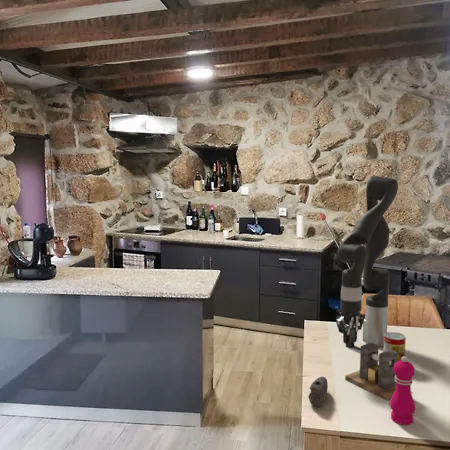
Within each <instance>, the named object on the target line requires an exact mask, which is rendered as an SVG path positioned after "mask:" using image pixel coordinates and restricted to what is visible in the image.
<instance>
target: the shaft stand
mask: <svg viewBox="0 0 450 450" xmlns="http://www.w3.org/2000/svg"><path fill="white" fill-rule="evenodd" d="M379 347H380V346H379V345H377V344H375V343H368V344H366V343H365V344H362V345H360V348H361V350H360V353H359V354H360V355H359V357H360V359H359V370H357V371H354V372H352V373H348V374H347V375H344V376H345V379H344V380H345V381H347V382H349V383H351V384H353V385H355V386H356V387H359V388H362V389H363V390H366V391H368V392H370V393H372V394H373V395H374V396H375V395H376V396H378V397H379V398H381V399H384V400H386V401H390V400H391V397H392V396H393V394H394V392H395V389H396V381H395V375H396V374H395V373H394V370H393V368H394V365H395V363H396V362H397V361H398V352H395V351H393V350H388V351H385V352H380V353H379ZM370 353H374V354H377V355H379V361H376V360H374V359H372V358H370ZM391 360H392V361H393V364H392V366H389V362H390V361H391ZM377 364H378V365H379V374H378V379H377V383H376V384H373V383H371V382H369V381H368V368H369V367H372V366H374V365H377Z"/></svg>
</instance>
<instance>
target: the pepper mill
mask: <svg viewBox="0 0 450 450" xmlns="http://www.w3.org/2000/svg"><path fill="white" fill-rule="evenodd" d="M401 360H402V361H398V362H396V363H395V365H394V368H393V370H394V373H395V374H396V375H395V381H396V389H395V392H394V394H393V396H392V397H391V399H389V401H390V403H389V407H390V409H391V411H390V412H391V413H390V414H391V415H390V416H391V417H390V419H391V420H392V421H393V422H394V423H397V424H398V425H403V426H406V425H407V426H408V425H411V424H413V422H414V415H413V414H414V413H415V411H416V403H415V400H414V398H413V395H412V392H411V390H412V389H411V388H412V387H411V385H412V384H413V382H414V381H413V377H414V376H415V373H416V370H415V366H414V365H413V363H411V362H409V359H408V357H407V356H406V355H405V356H404V357H402V358H401Z"/></svg>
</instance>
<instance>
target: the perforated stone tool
mask: <svg viewBox="0 0 450 450" xmlns="http://www.w3.org/2000/svg"><path fill="white" fill-rule="evenodd" d="M328 384H329V383H328V380H327V378H326V377H325V376H320V377H318V378H316V379H315V380H314V381H313V382H311V385H310V387H309V390H310V393H309V394H308V396H307V397H308V400H309V403H310V404H311V405H313V406H316V407H318V408H319V407H321V406H322V405H323V404H324V402H325V400H326V397H327V393H328V390H329V389H328V387H329V385H328Z"/></svg>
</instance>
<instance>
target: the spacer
mask: <svg viewBox="0 0 450 450" xmlns="http://www.w3.org/2000/svg"><path fill="white" fill-rule="evenodd" d="M378 374H379V363H378V364H377V365H374V366H372V367H369V368H368V381H369V382H371V383H373V384H376V383H377V379H378Z"/></svg>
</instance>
